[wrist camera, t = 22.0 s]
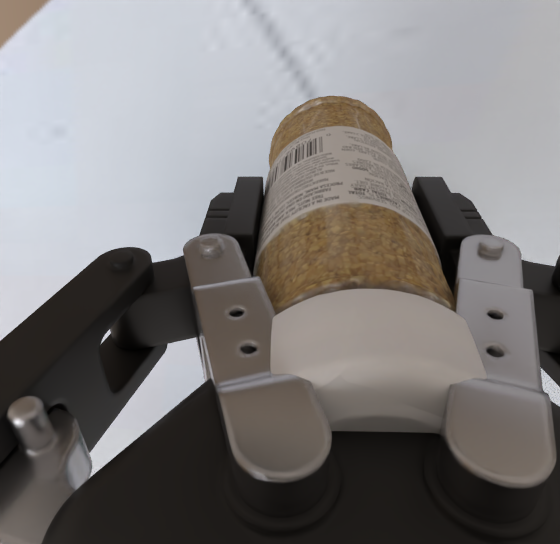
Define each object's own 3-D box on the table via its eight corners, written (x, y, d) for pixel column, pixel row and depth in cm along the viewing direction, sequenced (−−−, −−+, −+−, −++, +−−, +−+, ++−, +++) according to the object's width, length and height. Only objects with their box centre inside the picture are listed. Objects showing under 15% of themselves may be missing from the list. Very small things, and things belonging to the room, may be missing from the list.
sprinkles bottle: (305, 226, 20) (308, 580, 9) (245, 130, 18) (156, 440, 7) (412, 175, 19) (566, 521, 8) (361, 64, 17) (473, 322, 6)
